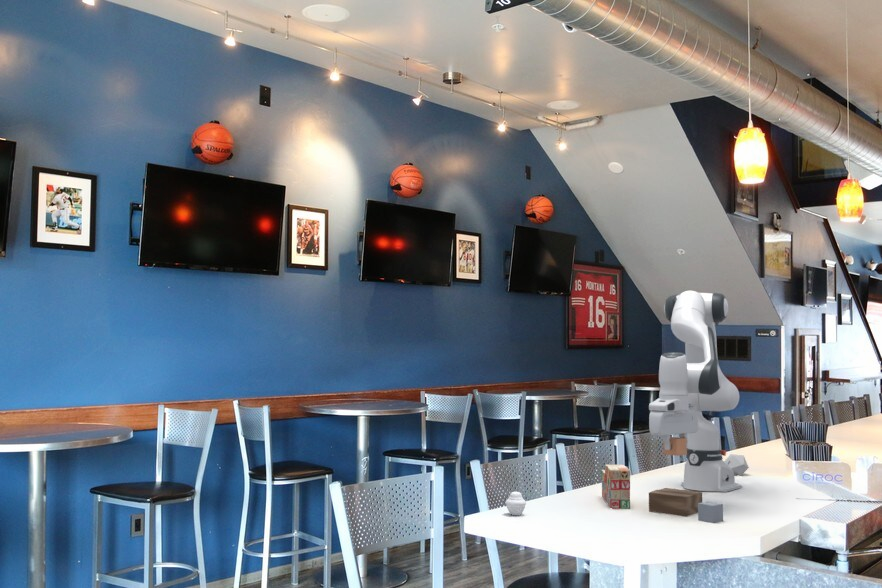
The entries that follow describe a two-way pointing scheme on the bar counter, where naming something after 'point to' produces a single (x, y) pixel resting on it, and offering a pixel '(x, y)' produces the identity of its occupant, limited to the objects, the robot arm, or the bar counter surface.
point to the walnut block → (674, 501)
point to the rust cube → (676, 446)
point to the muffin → (515, 503)
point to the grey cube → (710, 512)
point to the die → (737, 464)
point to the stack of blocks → (616, 486)
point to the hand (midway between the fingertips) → (674, 449)
